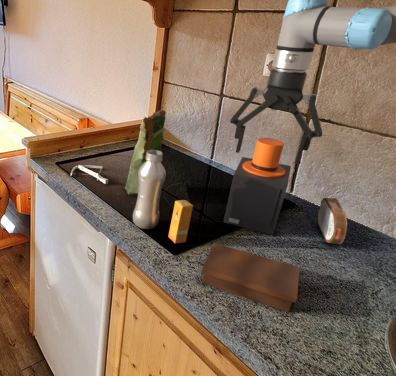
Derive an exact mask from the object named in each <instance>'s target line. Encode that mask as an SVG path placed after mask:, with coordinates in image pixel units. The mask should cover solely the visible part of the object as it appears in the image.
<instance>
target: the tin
mask: <svg viewBox="0 0 396 376" xmlns="http://www.w3.org/2000/svg"><path fill="white" fill-rule="evenodd" d="M317 224H318V227H319V229H320V232H321V234H322V236H323V238H324V240H325V242H326V243H328V244H334V245H338V246H341V245H343V243H344V241H345V239H346V236H347V231H348V216H347V214H346V212H345V210H344V208H343V207H342V205H341V203H340V202H339V200H338V198H336V197H334V198H333V197H323V198H322V199H321V200H320V205H319V209H318V212H317Z"/></svg>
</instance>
